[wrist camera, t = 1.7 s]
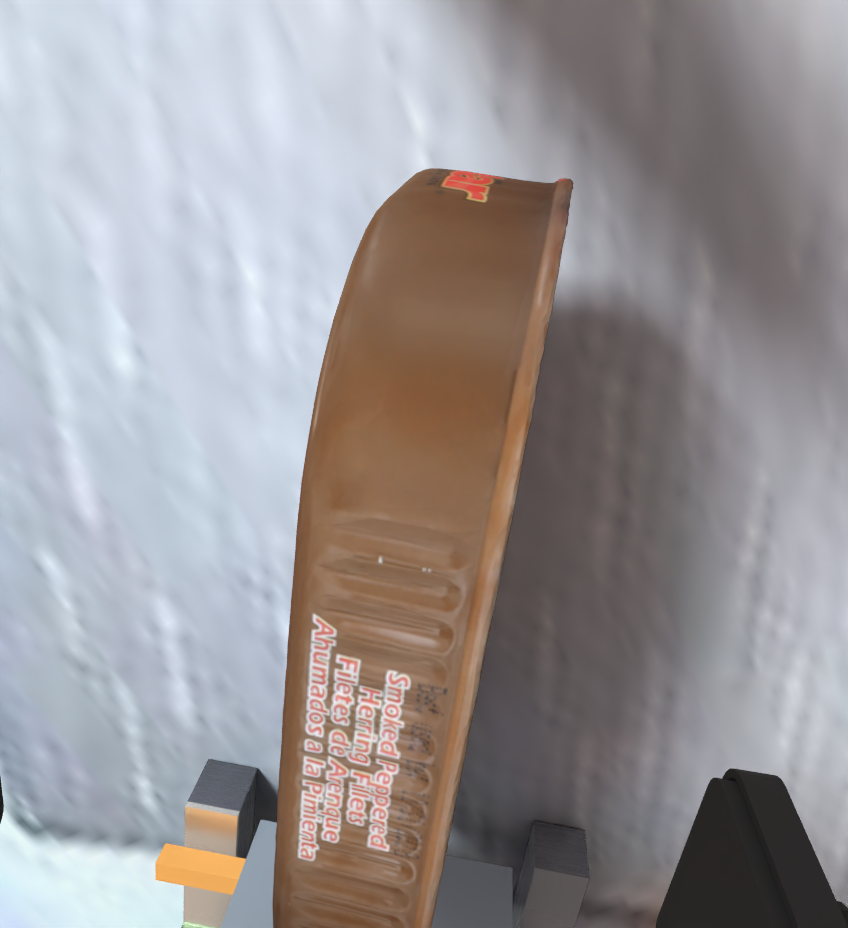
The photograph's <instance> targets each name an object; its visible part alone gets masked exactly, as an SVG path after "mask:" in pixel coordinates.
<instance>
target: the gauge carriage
mask: <svg viewBox="0 0 848 928" xmlns="http://www.w3.org/2000/svg"><path fill="white" fill-rule="evenodd" d="M276 828H277V823H276V822H271V821H266V820H260V823H259V826H258V828H257V831H256V834H255V836H254V839H253V842H252V845H251V847H250V850H249V853H248V855H247V858H246V859H244V858H239V857H233V856H228V855H223V854H218V853H213V852H208V851H203V850H197V849H192V848H187V847H182V846H177V845H172V844H167V843H165V845H164V847H163V849H162V851H161V854H160V856H159V858H158V860H157V862H156V880H159V881H164V882H170V883H175V884H180V885H185V886H190V887H195V888H200V889H205V890H210V891H215V892H220V893H225V894H231V895H233V896H232V898H231V901H230V904H229V906H228V909H227V912H226V914H225V917H224V920H223V922H222V925H221V928H273V904H272V902H273V883H274V863H275V848H276V839H275V836H276ZM512 898H513V868H511V867H506V866H500V865H495V864H490V863H485V862H480V861H474V860H469V859H464V858H459V857H454V856H448V855H446V858H445V862H444V867H443V873H442V877H441V882H440V886H439V891H438V897H437V902H436V907H435V912H434V917H433V922H432V927H431V928H512Z"/></svg>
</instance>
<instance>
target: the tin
mask: <svg viewBox="0 0 848 928" xmlns="http://www.w3.org/2000/svg"><path fill="white" fill-rule="evenodd" d="M572 189H573V181H572V180H571V179H560V180H558V181H556V182H555V183H541V182H532V181H524V180H517V179H511V178H505V177H498V176H492V175H486V174H479V173H473V172H467V171H458V170H448V169H426V170H423V171H421V172H418V173H416V174H415V175H414V176H413V177H412V178H410V179H409V180H408V181H407V182H406V183H405V184H404V185H402V186H401V187H400V188H399V189H398V190H397V191H396V192H395V193H394V194H393V195H391V196H390V197H389V198H388V199H387V200H386V201H385V202H384V204H383V205H382V206H381V207H380V208H379V209H378V210H377V212H376V213H375V215H374V217H373V218H372V220H371V222H370V223H369V225H368V227H367V228H366V230H365V233H364V235H363V237H362V240H361V242H360V244H359V247H358V249H357V251H356V254H355V256H354V259H353V261H352V264H351V267H350V270H349V273H348V276H347V279H346V282H345V285H344V288H343V292H342V295H341V298H340V301H339V304H338V307H337V310H336V313H335V317H334V320H333V324H332V328H331V332H330V336H329V340H328V344H327V347H326V351H325V355H324V360H323V364H322V368H321V373H320V377H319V382H318V387H317V392H316V397H315V403H314V408H313V414H312V420H311V426H310V432H309V439H308V445H307V451H306V457H305V463H304V470H303V476H302V484H301V494H300V504H299V513H298V523H297V535H296V550H295V563H294V576H293V588H292V599H291V613H290V625H289V637H288V652H287V669H286V680H285V697H284V708H283V725H282V745H281V759H280V771H279V789H278V806H277V828H276V836H275V839H276V848H275V863H274V883H273V902H272V904H273V928H431V927H432V922H433V917H434V912H435V907H436V902H437V897H438V891H439V886H440V882H441V877H442V873H443V867H444V862H445V858H446V851H447V848H448V840H449V834H450V830H451V825H452V821H453V813H454V810H455V803H456V798H457V793H458V789H459V784H460V780H461V775H462V769H463V764H464V759H465V754H466V748H467V742H468V737H469V732H470V727H471V722H472V717H473V711H474V707H475V703H476V698H477V693H478V687H479V682H480V677H481V672H482V666H483V661H484V655H485V650H486V645H487V640H488V636H489V632H490V628H491V622H492V617H493V612H494V607H495V602H496V597H497V593H498V588H499V582H500V577H501V572H502V567H503V562H504V557H505V552H506V547H507V542H508V538H509V533H510V528H511V523H512V517H513V512H514V506H515V501H516V495H517V490H518V484H519V479H520V474H521V468H522V461H523V455H524V450H525V445H526V440H527V435H528V431H529V428H530V424H531V420H532V410H533V406H534V402H535V397H536V386H537V382H538V377H539V371H540V365H541V361H542V357H543V352H544V345H545V339H546V335H547V330H548V324H549V320H550V317H551V314H552V308H553V299H554V292H555V288H556V283H557V278H558V273H559V267H560V260H561V253H562V247H563V243H564V239H565V233H566V226H567V224H568V216H569V207H570V199H571V192H572Z"/></svg>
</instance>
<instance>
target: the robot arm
mask: <svg viewBox="0 0 848 928" xmlns="http://www.w3.org/2000/svg"><path fill="white" fill-rule="evenodd" d="M3 807H4V804H3V796H2V787H1V778H0V823H1V819H2V816H3ZM656 928H848V908H847V907H846V906H845V905H844V904H843V903H842V902H839V901H836V899H835V897H834V895H833V892H832V890H831V888H830V886H829V883H828V881H827V879H826V877H825V874H824V872H823V870H822V868H821V865H820V863H819V861H818V859H817V856H816V854H815V852H814V850H813V847H812V845H811V843H810V841H809V838H808V836H807V834H806V832H805V829H804V827H803V825H802V823H801V820H800V818H799V816H798V814H797V811H796V809H795V807H794V805H793V802H792V800H791V798H790V796H789V793H788V791H787V789H786V787H785V785H784V783H783V781H782V780H781V779H780V778H779V777H777V776H775V775H769V774H763V773H757V772H751V771H745V770H739V769H729V770H728V771H726V773H725V775H724V776H723V778H722V779H720V778H713V779H712V780H711V781H710V782H709V784H708V787H707V789H706V792H705V795H704V797H703V800H702V802H701V805H700V808H699V810H698V813H697V816H696V818H695V821H694V823H693V826H692V829H691V831H690V834H689V837H688V839H687V842H686V844H685V847H684V850H683V852H682V855H681V858H680V860H679V863H678V865H677V868H676V871H675V873H674V876H673V878H672V881H671V884H670V886H669V889H668V892H667V894H666V897H665V899H664V902H663V905H662V907H661V910H660V913H659V915H658V918H657V922H656Z"/></svg>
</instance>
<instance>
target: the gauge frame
mask: <svg viewBox="0 0 848 928" xmlns="http://www.w3.org/2000/svg"><path fill="white" fill-rule="evenodd" d="M256 779H257V768H252V767H246V766H241V765H236V764H231V763H225V762H220V761H215V760H209V759H208V761H207V763H206V765H205V767H204V769H203V771H202V773H201V775H200V777H199V779H198V782H197V784H196V786H195V788H194V790H193V792H192V794H191V796H190V798H189V800H188V802H187V804H186V806H185V847H187V848H192V849H197V850H203V851H208V852H213V853H218V854H223V855H228V856H233V857H239V858H244V859H246V858H247V855H248V853H249V850H250V847H251V845H252V841H253V826H254V810H255V794H256ZM589 879H590V878H589V868H588V858H587V848H586V838H585V830H580V829H575V828H570V827H564V826H559V825H554V824H548V823H543V822H538V821H534V823H533V827H532V830H531V834H530V838H529V842H528V845H527V849H526V853H525V857H524V860H523V864H522V868H521V872H520V876H519V879H518V883H517V887H516V891H515V894H514V898H513V902H512V928H574V926H575V923H576V919H577V916H578V913H579V910H580V907H581V904H582V901H583V897H584V894H585V891H586V888H587V885H588V882H589ZM232 896H233V895H231V894H225V893H220V892H215V891H210V890H205V889H200V888H195V887H190V886H185V885H184V924H183V925H182V927H181V928H221V925H222V922H223V920H224V917H225V914H226V912H227V909H228V906H229V904H230V901H231V898H232Z"/></svg>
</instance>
